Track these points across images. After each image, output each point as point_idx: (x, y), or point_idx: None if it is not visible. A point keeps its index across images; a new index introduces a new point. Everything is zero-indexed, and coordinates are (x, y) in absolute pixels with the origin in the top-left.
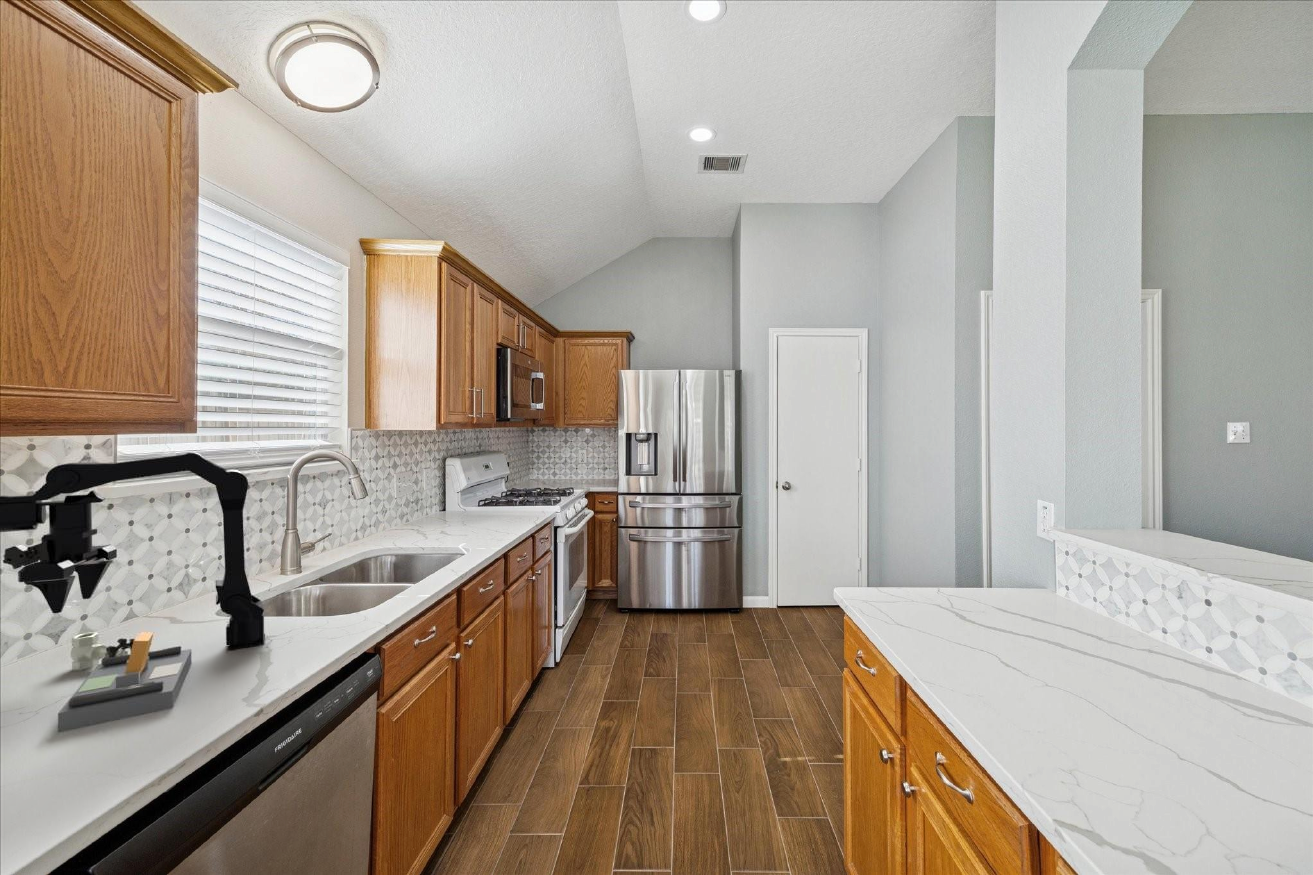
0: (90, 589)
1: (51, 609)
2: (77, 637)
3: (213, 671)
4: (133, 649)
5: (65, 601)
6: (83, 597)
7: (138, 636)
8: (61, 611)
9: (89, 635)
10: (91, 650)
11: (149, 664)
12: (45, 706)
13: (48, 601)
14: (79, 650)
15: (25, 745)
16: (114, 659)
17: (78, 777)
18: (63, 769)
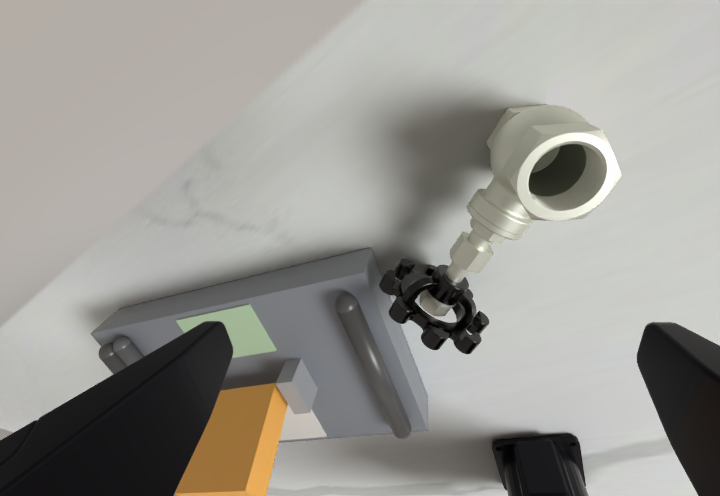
0: (695, 453)
1: (177, 340)
2: (570, 141)
3: (359, 436)
4: (189, 466)
5: (191, 445)
6: (658, 334)
7: (210, 493)
8: (228, 357)
9: (599, 174)
10: (476, 214)
11: (332, 384)
12: (219, 217)
13: (98, 396)
14: (498, 164)
15: (74, 286)
16: (344, 327)
17: (29, 387)
18: (37, 366)
